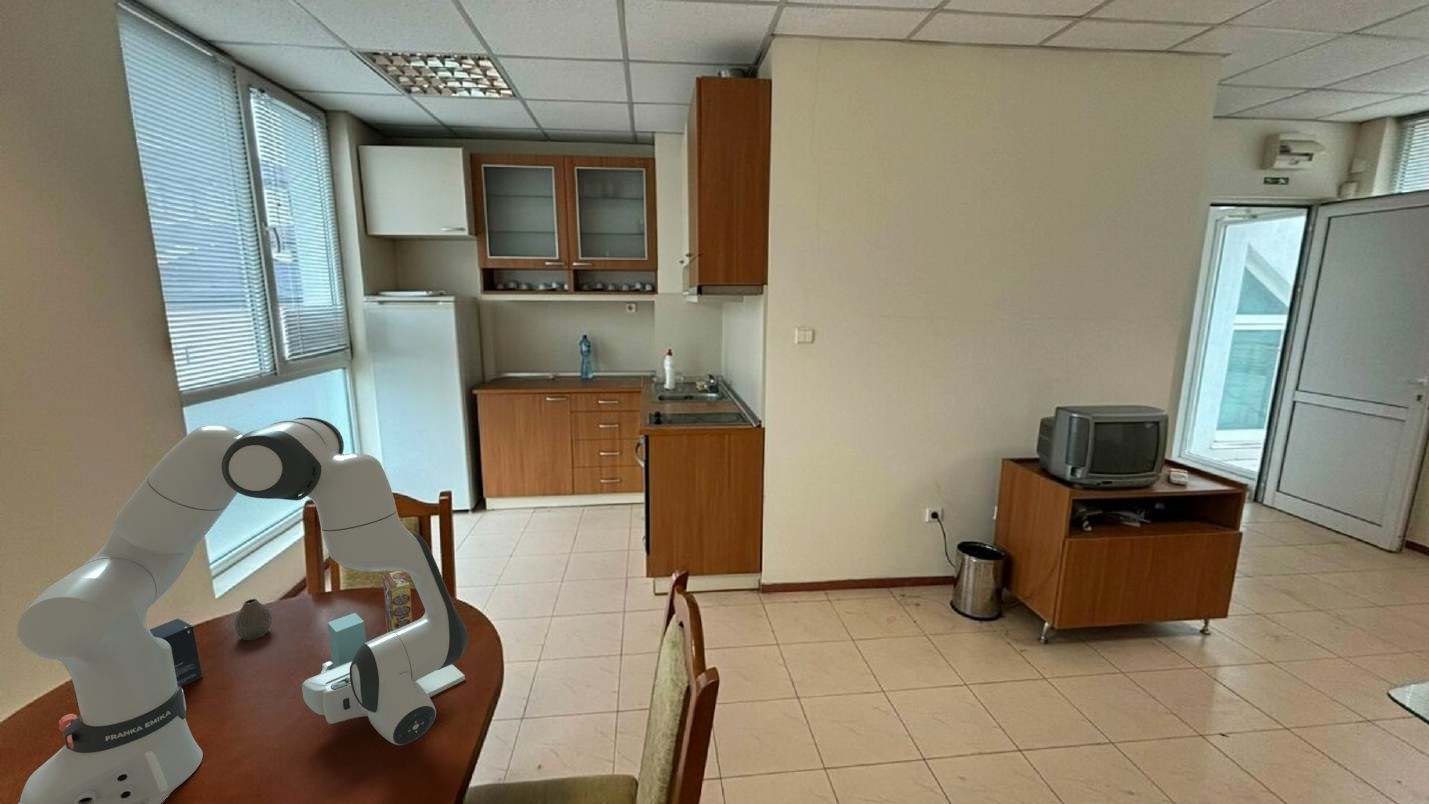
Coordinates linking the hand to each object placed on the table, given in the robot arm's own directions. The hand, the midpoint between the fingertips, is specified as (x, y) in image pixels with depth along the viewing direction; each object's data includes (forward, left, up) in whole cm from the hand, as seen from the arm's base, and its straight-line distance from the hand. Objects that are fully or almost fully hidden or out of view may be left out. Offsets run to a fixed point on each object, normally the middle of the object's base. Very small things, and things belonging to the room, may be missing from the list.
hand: (353, 654), depth 117 cm
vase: (-9, +39, -8) cm, 41 cm away
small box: (-27, +30, -8) cm, 41 cm away
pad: (+10, -7, -8) cm, 15 cm away
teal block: (0, +3, -8) cm, 8 cm away
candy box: (+13, +12, -8) cm, 20 cm away
